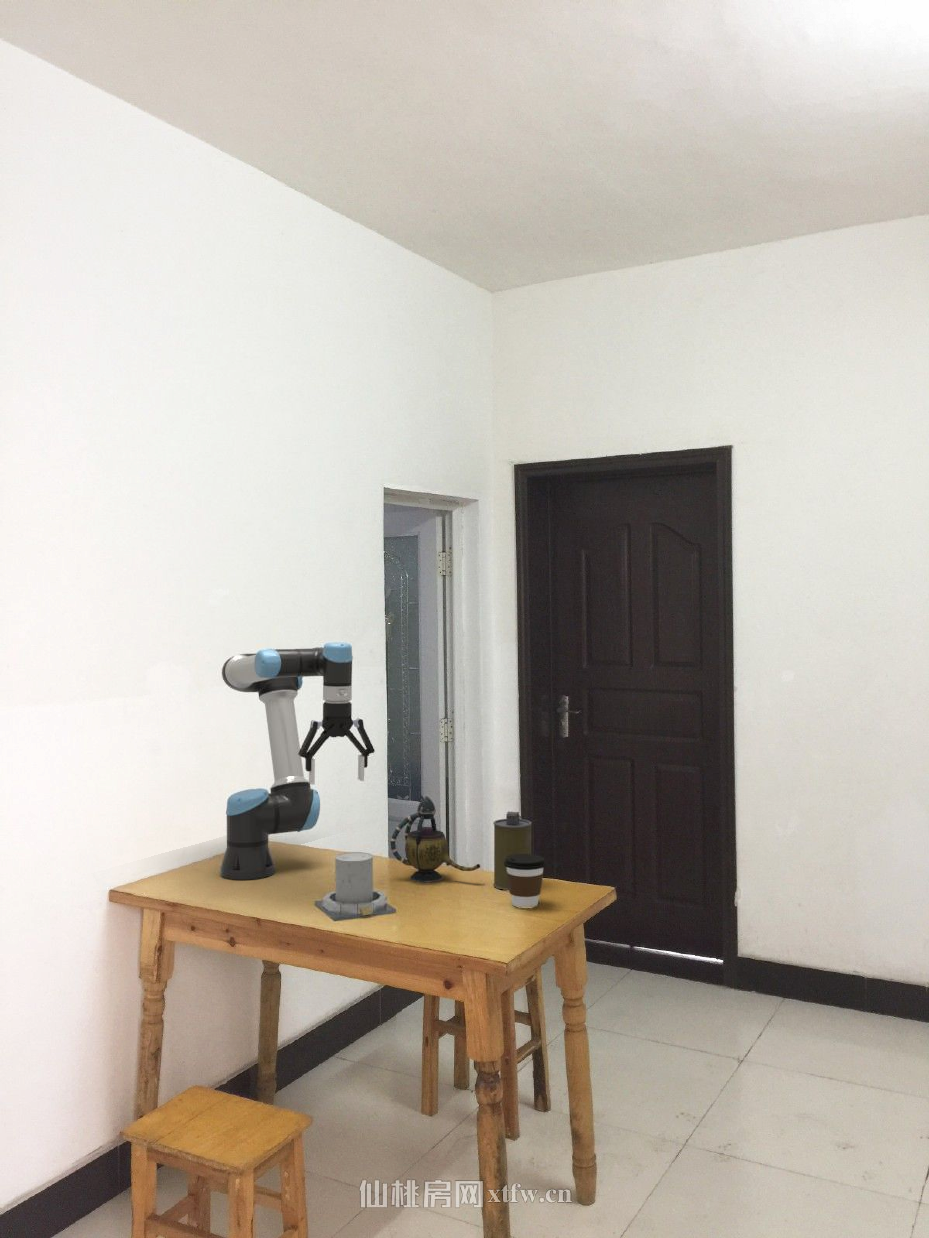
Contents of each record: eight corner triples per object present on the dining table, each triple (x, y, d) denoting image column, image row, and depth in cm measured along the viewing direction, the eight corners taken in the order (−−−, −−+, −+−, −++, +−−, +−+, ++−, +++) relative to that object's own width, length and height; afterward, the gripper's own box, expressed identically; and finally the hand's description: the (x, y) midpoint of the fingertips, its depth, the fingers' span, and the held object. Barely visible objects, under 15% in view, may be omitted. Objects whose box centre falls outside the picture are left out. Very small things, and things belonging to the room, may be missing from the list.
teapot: (407, 870, 303) (407, 790, 302) (487, 879, 293) (487, 796, 292) (388, 880, 292) (387, 797, 291) (470, 890, 282) (470, 803, 281)
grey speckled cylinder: (345, 898, 271) (345, 850, 271) (379, 901, 268) (379, 853, 268) (328, 908, 262) (328, 859, 262) (363, 912, 259) (363, 862, 259)
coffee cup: (517, 913, 260) (517, 865, 260) (495, 902, 270) (495, 856, 270) (554, 907, 265) (554, 860, 265) (532, 897, 275) (532, 851, 275)
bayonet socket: (313, 902, 270) (313, 891, 270) (372, 895, 276) (372, 884, 276) (335, 921, 253) (335, 909, 253) (397, 913, 260) (397, 901, 260)
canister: (528, 892, 280) (528, 817, 280) (490, 889, 282) (490, 815, 282) (534, 881, 291) (534, 809, 290) (497, 879, 293) (497, 807, 292)
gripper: (295, 704, 268) (294, 787, 269) (386, 701, 278) (386, 781, 279) (287, 701, 275) (286, 782, 275) (376, 698, 285) (376, 776, 286)
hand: (336, 781), depth 277 cm, fingers open, 13 cm apart
